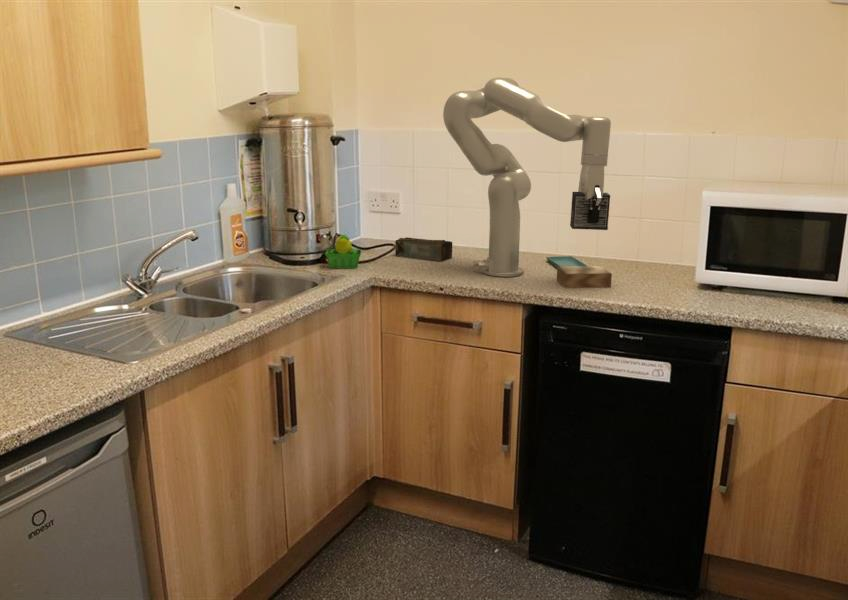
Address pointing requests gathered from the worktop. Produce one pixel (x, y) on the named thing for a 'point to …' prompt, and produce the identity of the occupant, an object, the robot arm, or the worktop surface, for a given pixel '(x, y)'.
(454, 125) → the robot arm
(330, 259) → the fruit basket
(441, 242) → the dark rectangular box
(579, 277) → the brown rectangular tray
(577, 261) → the shallow long dish
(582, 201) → the small box
